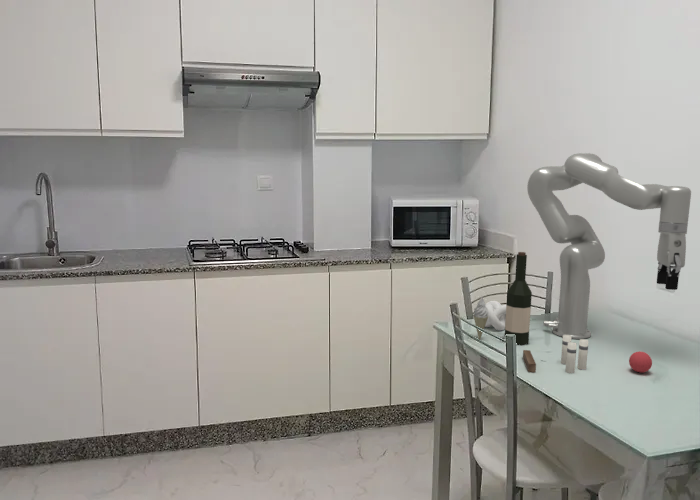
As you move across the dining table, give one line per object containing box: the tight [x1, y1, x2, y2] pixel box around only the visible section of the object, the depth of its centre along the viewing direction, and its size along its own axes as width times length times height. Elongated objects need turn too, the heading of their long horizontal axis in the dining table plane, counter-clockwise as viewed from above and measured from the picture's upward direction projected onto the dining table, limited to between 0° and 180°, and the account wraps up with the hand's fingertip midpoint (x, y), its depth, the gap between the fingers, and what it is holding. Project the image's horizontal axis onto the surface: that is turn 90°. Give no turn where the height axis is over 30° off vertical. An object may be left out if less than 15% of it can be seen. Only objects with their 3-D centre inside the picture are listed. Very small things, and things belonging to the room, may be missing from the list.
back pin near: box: [565, 341, 577, 374], centre depth 172 cm, size 2×2×8 cm
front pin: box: [576, 338, 589, 371], centre depth 175 cm, size 2×2×8 cm
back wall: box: [522, 349, 537, 373], centre depth 178 cm, size 2×12×2 cm, turn 171°
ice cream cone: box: [473, 295, 489, 340], centre depth 200 cm, size 5×5×15 cm
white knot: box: [484, 300, 506, 332], centre depth 214 cm, size 11×12×9 cm
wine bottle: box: [504, 251, 533, 346], centre depth 197 cm, size 8×8×30 cm
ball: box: [628, 351, 653, 374], centre depth 173 cm, size 6×6×6 cm
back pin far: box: [560, 335, 572, 366], centre depth 179 cm, size 2×2×8 cm
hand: (666, 286), depth 182 cm, fingers open, 6 cm apart
